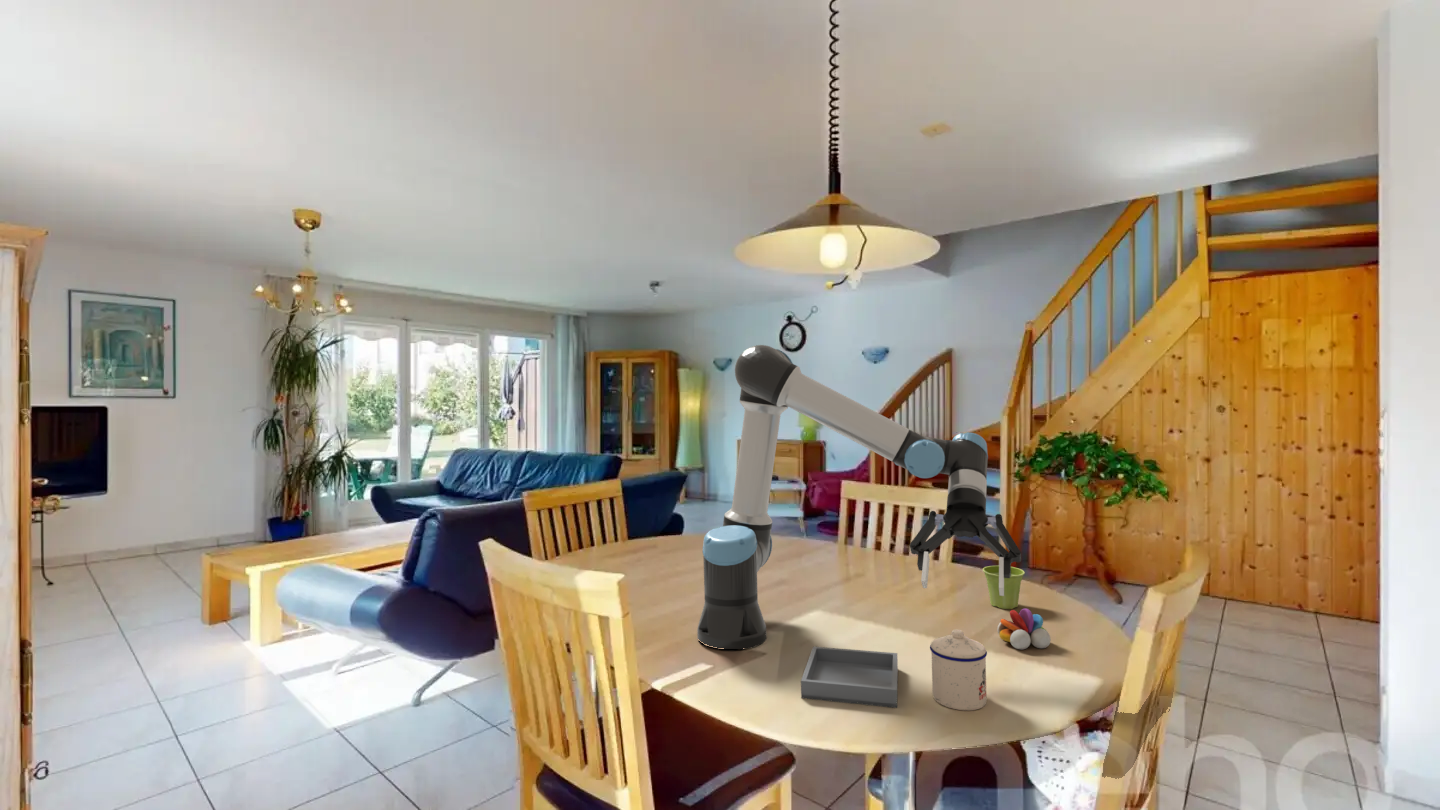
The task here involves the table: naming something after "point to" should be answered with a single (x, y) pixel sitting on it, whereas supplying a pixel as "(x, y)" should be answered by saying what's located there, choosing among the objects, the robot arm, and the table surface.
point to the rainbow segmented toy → (1024, 630)
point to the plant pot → (1010, 587)
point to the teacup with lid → (959, 671)
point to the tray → (851, 676)
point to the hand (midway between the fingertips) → (961, 588)
